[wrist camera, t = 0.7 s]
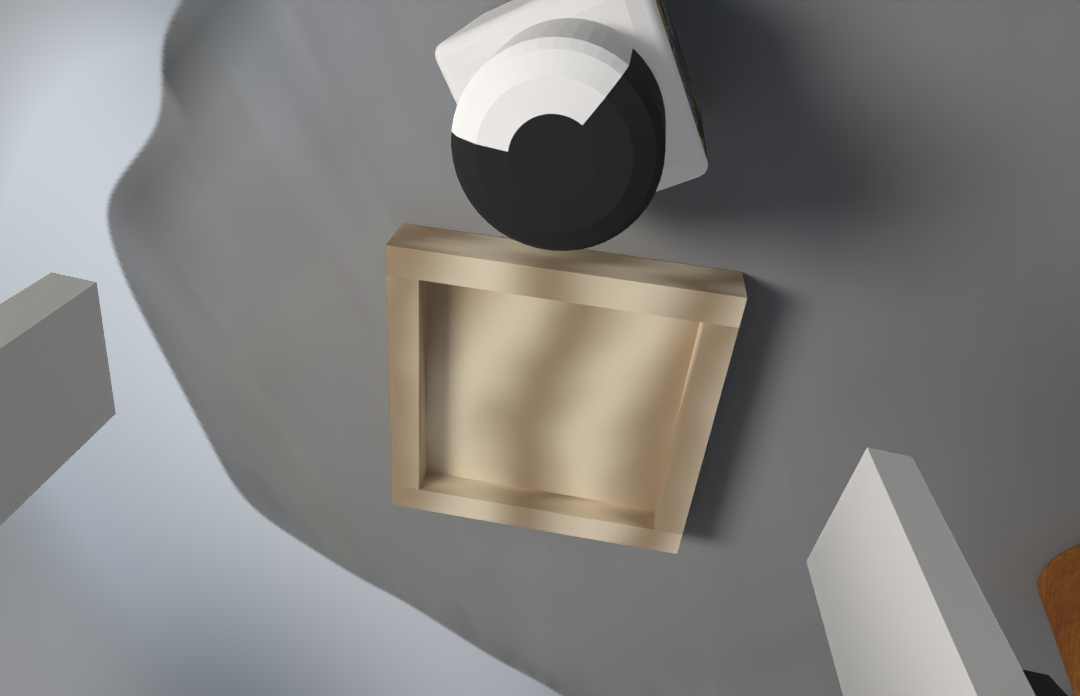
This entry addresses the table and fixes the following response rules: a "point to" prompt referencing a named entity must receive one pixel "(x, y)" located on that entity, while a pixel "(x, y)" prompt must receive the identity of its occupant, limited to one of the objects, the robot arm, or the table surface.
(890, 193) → the table surface
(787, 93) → the table surface
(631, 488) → the tray
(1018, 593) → the table surface
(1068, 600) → the disposable coffee cup
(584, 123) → the medicine bottle
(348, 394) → the table surface
